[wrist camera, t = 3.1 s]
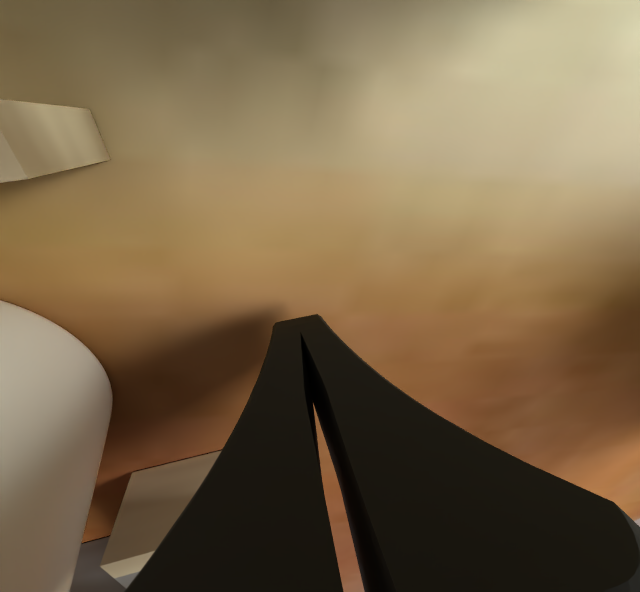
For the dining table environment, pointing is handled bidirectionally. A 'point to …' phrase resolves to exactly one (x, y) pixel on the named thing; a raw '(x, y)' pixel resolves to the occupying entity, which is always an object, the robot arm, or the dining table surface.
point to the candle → (46, 449)
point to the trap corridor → (144, 486)
